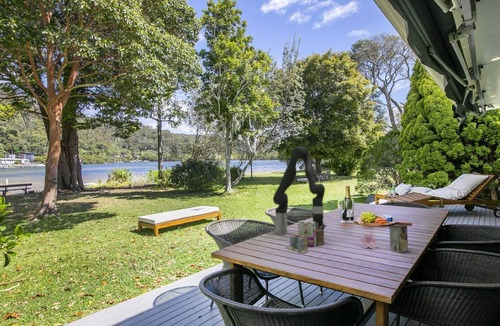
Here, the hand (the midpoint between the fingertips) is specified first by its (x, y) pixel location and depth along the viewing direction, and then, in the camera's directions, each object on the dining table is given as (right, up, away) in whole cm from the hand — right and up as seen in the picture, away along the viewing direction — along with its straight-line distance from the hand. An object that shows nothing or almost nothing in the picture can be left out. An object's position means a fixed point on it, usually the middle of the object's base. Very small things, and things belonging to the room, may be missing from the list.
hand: (318, 236), depth 199 cm
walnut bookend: (-3, -4, -3) cm, 6 cm away
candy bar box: (-9, -4, -7) cm, 12 cm away
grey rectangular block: (-8, -5, -7) cm, 12 cm away
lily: (+31, -5, -11) cm, 33 cm away
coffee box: (+47, -4, -18) cm, 51 cm away
